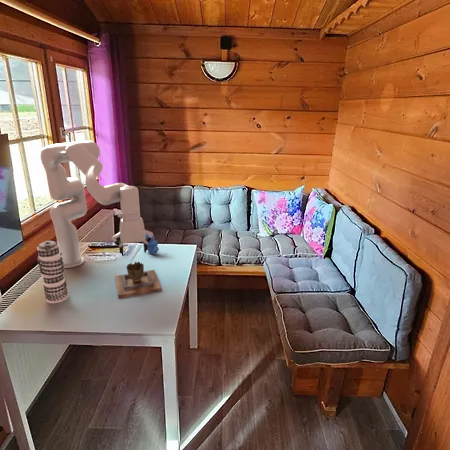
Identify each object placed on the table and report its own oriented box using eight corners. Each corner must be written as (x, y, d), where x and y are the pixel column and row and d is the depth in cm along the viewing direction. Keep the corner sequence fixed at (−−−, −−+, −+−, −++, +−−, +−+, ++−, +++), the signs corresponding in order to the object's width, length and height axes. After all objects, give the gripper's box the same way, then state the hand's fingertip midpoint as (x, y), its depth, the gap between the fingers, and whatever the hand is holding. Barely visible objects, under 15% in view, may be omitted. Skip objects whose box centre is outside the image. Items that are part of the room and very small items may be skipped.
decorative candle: (45, 295, 150) (34, 240, 141) (69, 290, 153) (60, 237, 145) (44, 305, 142) (33, 249, 134) (69, 301, 145) (59, 245, 137)
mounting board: (118, 298, 147) (117, 292, 146) (115, 278, 163) (114, 272, 162) (161, 290, 153) (160, 284, 152) (154, 272, 169) (154, 266, 168)
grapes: (137, 253, 190) (135, 232, 185) (147, 249, 195) (145, 229, 191) (152, 259, 183) (150, 237, 179) (161, 254, 188) (160, 233, 184)
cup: (130, 287, 153) (128, 270, 150) (126, 279, 159) (124, 263, 156) (147, 283, 156) (145, 267, 154) (142, 276, 162) (141, 260, 160)
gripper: (109, 220, 141) (113, 259, 147) (153, 216, 147) (155, 254, 153) (108, 215, 148) (112, 252, 154) (150, 211, 153) (152, 247, 159)
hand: (133, 253), depth 153 cm, fingers open, 9 cm apart
